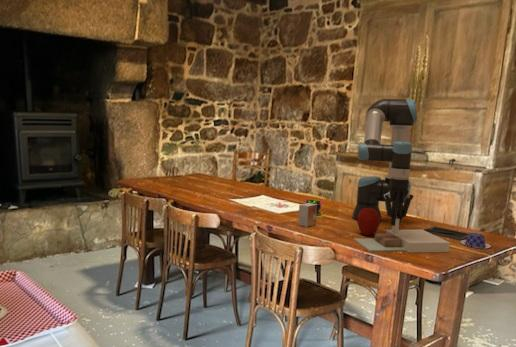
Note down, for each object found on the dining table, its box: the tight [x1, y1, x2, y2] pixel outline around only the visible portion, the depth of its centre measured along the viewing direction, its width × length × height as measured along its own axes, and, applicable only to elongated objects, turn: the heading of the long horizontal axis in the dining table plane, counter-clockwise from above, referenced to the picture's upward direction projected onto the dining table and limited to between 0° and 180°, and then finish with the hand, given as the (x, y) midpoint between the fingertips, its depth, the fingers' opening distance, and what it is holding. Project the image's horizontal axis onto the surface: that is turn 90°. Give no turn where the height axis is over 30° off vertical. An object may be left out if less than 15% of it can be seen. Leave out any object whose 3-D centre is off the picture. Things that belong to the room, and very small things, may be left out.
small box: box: [297, 203, 317, 228], centre depth 200 cm, size 8×6×10 cm
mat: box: [353, 237, 407, 252], centre depth 170 cm, size 16×16×1 cm
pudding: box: [459, 232, 492, 249], centre depth 177 cm, size 12×12×5 cm
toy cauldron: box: [303, 198, 324, 219], centre depth 223 cm, size 15×15×11 cm
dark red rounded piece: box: [356, 206, 381, 236], centre depth 186 cm, size 10×10×14 cm
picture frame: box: [423, 225, 470, 241], centre depth 193 cm, size 13×2×18 cm
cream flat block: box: [385, 229, 451, 253], centre depth 173 cm, size 20×18×4 cm
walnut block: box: [374, 233, 401, 247], centre depth 171 cm, size 10×7×3 cm
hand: (395, 232), depth 171 cm, fingers closed
